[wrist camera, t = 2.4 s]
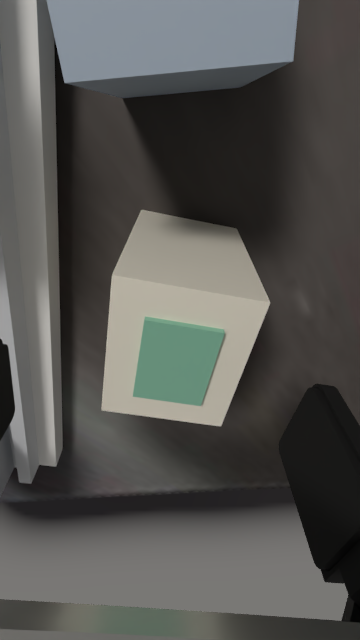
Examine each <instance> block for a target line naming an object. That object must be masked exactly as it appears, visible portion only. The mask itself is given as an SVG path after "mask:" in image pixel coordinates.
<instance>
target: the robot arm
mask: <svg viewBox="0 0 360 640" xmlns="http://www.w3.org/2000/svg"><path fill="white" fill-rule="evenodd" d="M14 413H15V402H14V393H13V384H12V375H11V366H10V357H9V349H8V345H7V344H3V342H2V340H1V339H0V441H1V439H2V437H3V435H4V434H5V432H6V430H7V428H8V426H9V425H10V423H11V421H12V419H13V417H14ZM279 452H280V455H281V458H282V462H283V465H284V468H285V471H286V474H287V478H288V481H289V484H290V487H291V490H292V494H293V497H294V500H295V503H296V506H297V509H298V512H299V516H300V519H301V522H302V525H303V528H304V532H305V535H306V538H307V541H308V544H309V548H310V551H311V554H312V557H313V560H314V563H315V565H316V566H317V567H318V568H319V569H321V571H322V574H323V578H324V581H325V582H331V583H345V586H346V589H347V591H348V594H349V595H348V598H347V602H346V606H345V609H344V613H343V617H342V621H334V620H320V619H305V618H291V617H277V616H261V615H248V614H233V613H217V612H202V611H186V610H185V611H184V610H169V609H155V608H154V609H153V608H139V607H123V606H107V605H89V604H73V603H55V602H38V601H37V602H36V601H21V600H4V599H0V640H360V426H359V424H358V422H357V421H356V419H355V417H354V416H353V414H352V413H351V411H350V409H349V408H348V406H347V404H346V403H345V401H344V399H343V398H342V396H341V394H340V393H339V391H338V390H337V388H336V387H334V386H328V385H321V384H315V385H313V387H312V388H308V389H307V391H306V393H305V395H304V397H303V398H302V400H301V402H300V404H299V406H298V408H297V410H296V411H295V413H294V415H293V417H292V419H291V421H290V423H289V424H288V426H287V428H286V430H285V432H284V434H283V436H282V437H281V439H280V442H279Z"/></svg>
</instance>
